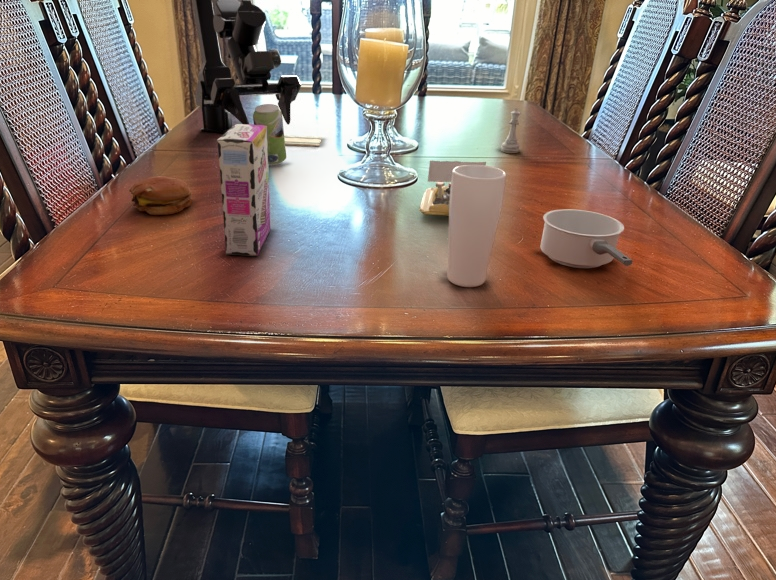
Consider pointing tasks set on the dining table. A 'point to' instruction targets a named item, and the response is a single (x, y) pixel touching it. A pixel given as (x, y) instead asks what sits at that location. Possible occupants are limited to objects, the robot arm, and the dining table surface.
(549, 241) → the saucepan
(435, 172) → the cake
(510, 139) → the chess piece
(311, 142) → the towel
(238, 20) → the robot arm
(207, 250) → the dining table surface
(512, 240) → the dining table surface
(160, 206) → the burger
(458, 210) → the drinking glass
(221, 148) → the white pink box
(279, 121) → the beverage can
